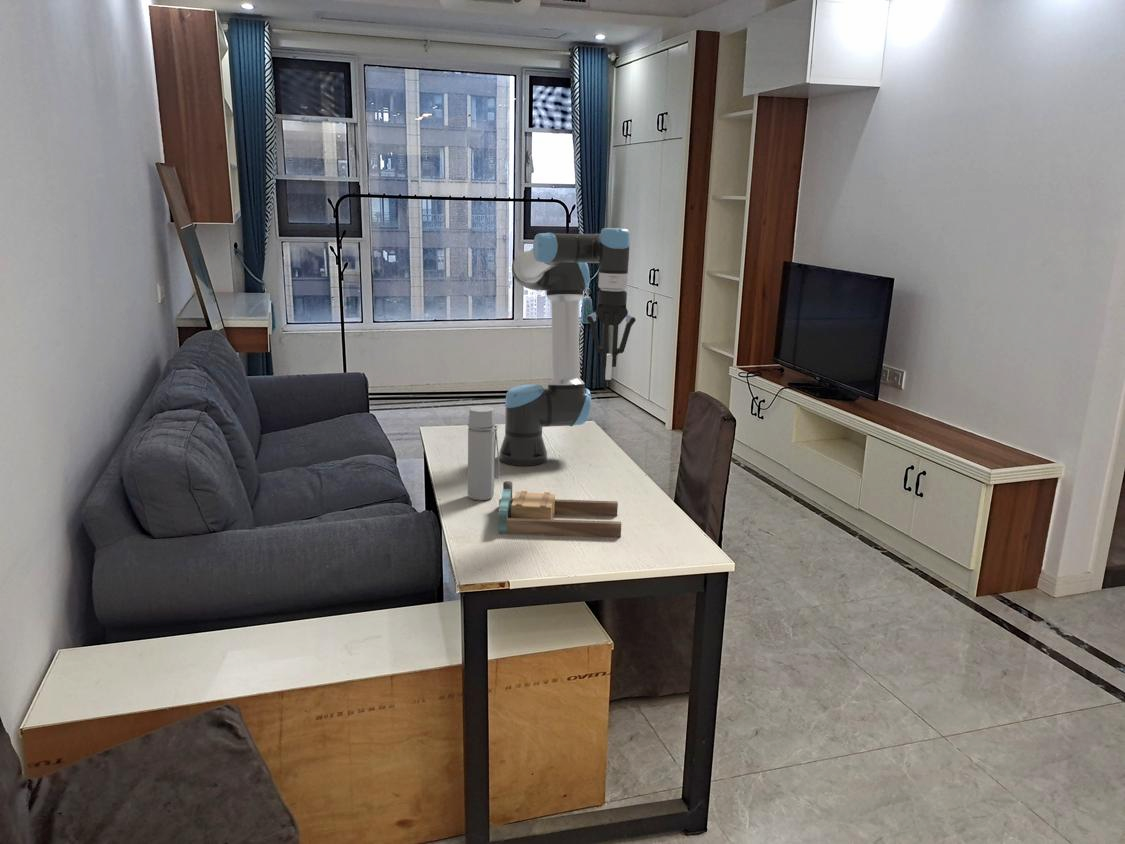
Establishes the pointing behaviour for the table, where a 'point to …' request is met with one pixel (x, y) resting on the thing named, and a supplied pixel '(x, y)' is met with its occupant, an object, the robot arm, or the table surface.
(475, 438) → the water bottle
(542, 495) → the crate
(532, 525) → the bay
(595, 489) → the table surface
